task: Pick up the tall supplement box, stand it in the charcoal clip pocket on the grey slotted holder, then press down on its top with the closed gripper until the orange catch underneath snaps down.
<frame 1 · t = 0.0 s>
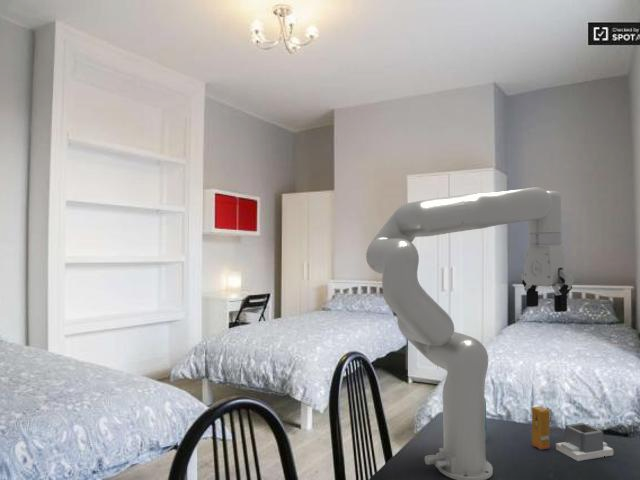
hand: (546, 308, 121), 37 cm above the table, tool pointing down, fingers open, 9 cm apart
grey slotted holder: (584, 452, 122), on the table
data package: (472, 434, 135), on the table
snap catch: (584, 438, 122), point 3 cm above the table, slide at 0.0 cm
supplement box: (541, 447, 126), on the table
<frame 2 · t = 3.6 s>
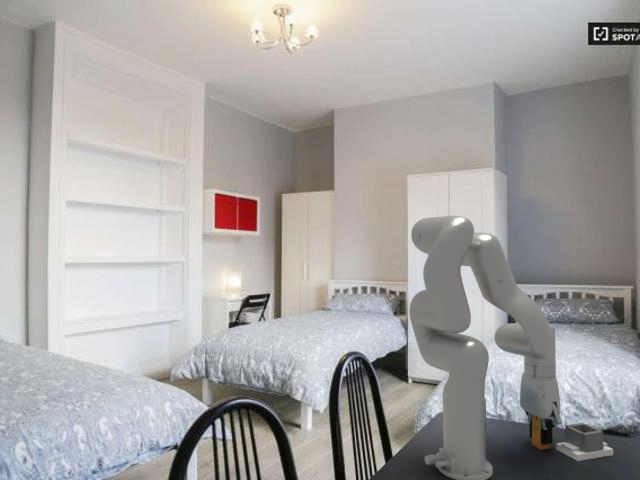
hand: (540, 440, 126), 2 cm above the table, tool pointing down, fingers closed on supplement box, 3 cm apart
supplement box: (541, 447, 126), on the table, touching gripper
everything else where it was.
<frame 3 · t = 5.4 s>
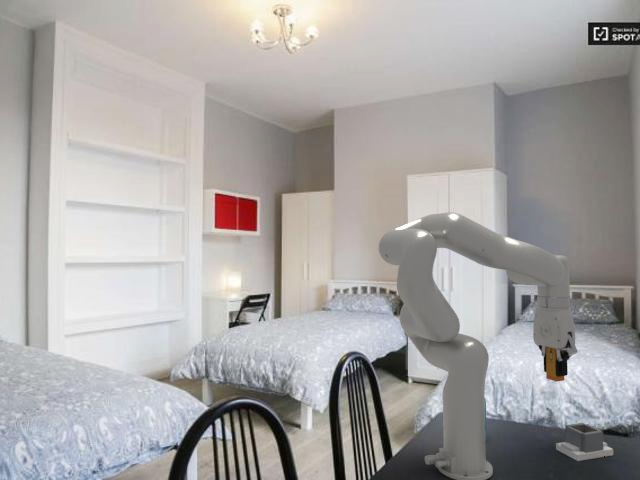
hand: (555, 372, 125), 19 cm above the table, tool pointing down, fingers closed on supplement box, 3 cm apart
supplement box: (555, 380, 125), point 18 cm above the table, touching gripper
everything else where it was.
when the fingers open (7 cm above the table, at t = 7.5 s): supplement box drops 2 cm, point 2 cm above the table.
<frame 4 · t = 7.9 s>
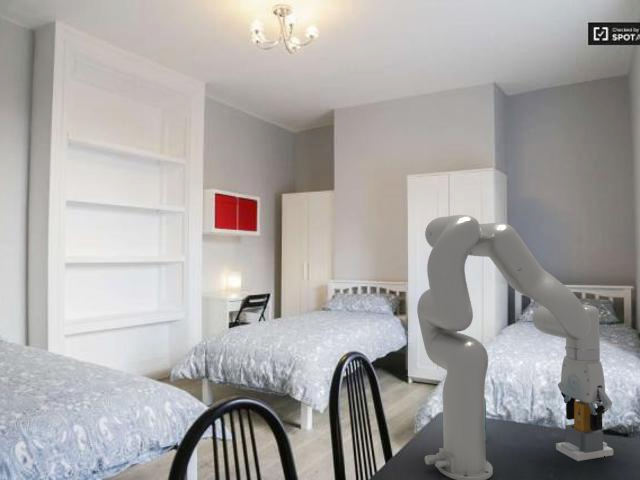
hand: (583, 423, 122), 7 cm above the table, tool pointing down, fingers open, 7 cm apart
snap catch: (584, 444, 122), point 2 cm above the table, slide at 1.5 cm, touching grey slotted holder
supplement box: (583, 443, 122), point 2 cm above the table
everything else where it was.
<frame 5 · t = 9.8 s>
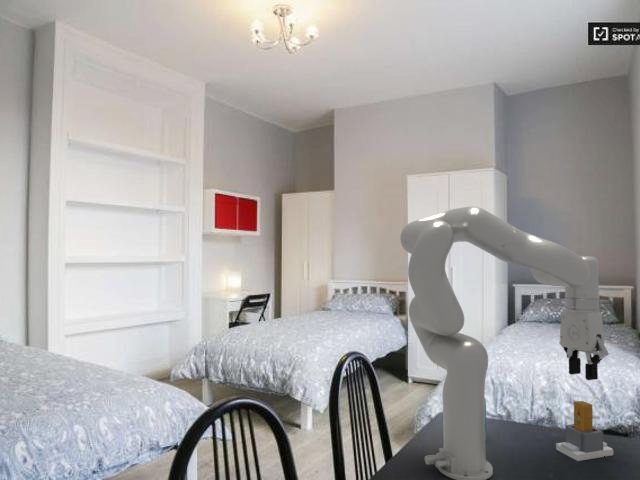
hand: (583, 375, 122), 19 cm above the table, tool pointing down, fingers open, 4 cm apart
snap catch: (584, 444, 122), point 2 cm above the table, slide at 1.5 cm, touching grey slotted holder, supplement box
supplement box: (583, 443, 122), point 2 cm above the table, touching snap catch
everything else where it was.
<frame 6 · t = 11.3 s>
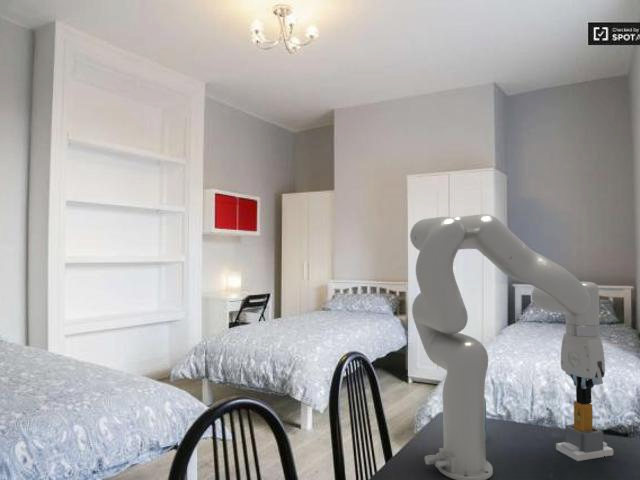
hand: (583, 402, 122), 13 cm above the table, tool pointing down, fingers closed
supplement box: (583, 443, 122), point 2 cm above the table, touching gripper, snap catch
everything else where it was.
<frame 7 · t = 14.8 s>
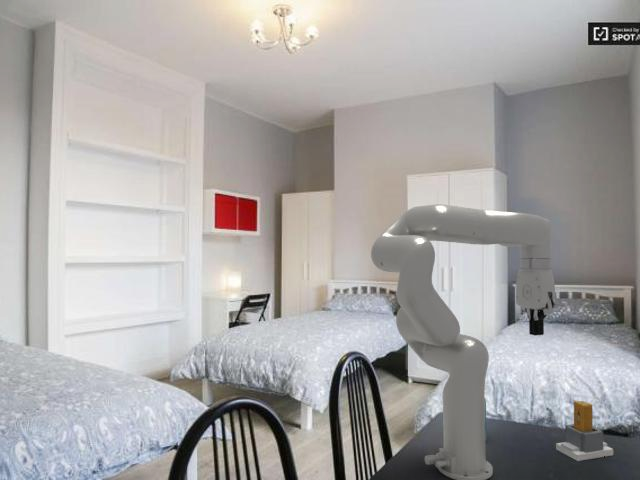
hand: (536, 334, 127), 29 cm above the table, tool pointing down, fingers closed
supplement box: (583, 443, 122), point 2 cm above the table, touching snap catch
everything else where it was.
at the end: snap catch slide at 1.5 cm; supplement box 0.1 cm off-centre on the grey slotted holder, point 2.3 cm above the grey slotted holder's base; supplement box tilted 0° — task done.
